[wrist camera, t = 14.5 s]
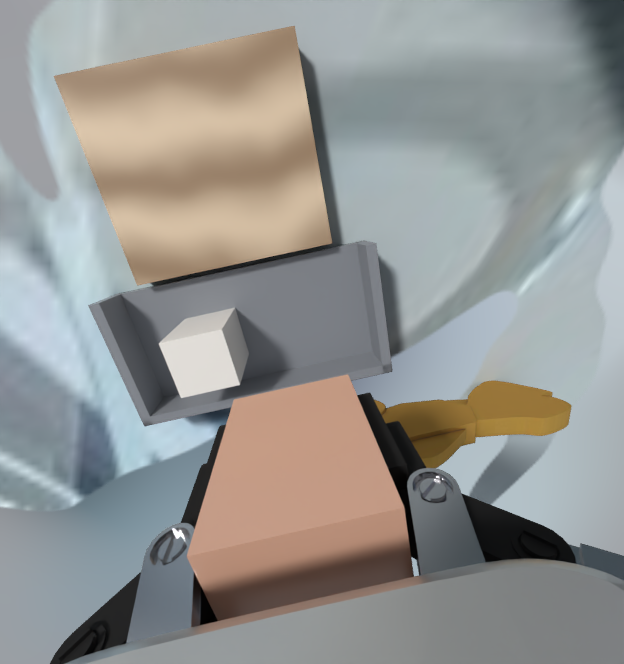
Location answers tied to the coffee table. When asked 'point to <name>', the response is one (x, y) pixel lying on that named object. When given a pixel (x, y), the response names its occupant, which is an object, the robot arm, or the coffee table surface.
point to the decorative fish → (477, 418)
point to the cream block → (206, 353)
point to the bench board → (203, 153)
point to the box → (256, 327)
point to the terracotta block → (297, 504)
